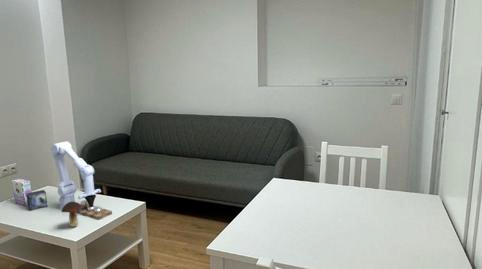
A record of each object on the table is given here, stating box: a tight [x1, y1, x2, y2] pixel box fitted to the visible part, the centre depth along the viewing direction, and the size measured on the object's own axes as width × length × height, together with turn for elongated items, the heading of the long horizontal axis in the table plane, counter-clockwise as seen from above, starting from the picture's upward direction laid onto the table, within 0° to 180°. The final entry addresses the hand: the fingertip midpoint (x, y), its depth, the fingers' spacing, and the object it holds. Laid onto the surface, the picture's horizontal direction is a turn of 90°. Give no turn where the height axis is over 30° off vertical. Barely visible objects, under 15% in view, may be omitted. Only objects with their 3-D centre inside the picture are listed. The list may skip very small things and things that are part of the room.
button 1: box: [80, 199, 89, 208], centre depth 223 cm, size 4×4×4 cm
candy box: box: [11, 178, 33, 207], centre depth 241 cm, size 14×6×16 cm, turn 58°
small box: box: [26, 189, 49, 212], centre depth 232 cm, size 11×6×10 cm, turn 131°
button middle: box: [87, 204, 96, 211], centre depth 221 cm, size 4×4×4 cm
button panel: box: [75, 204, 113, 221], centre depth 221 cm, size 26×10×2 cm, turn 58°
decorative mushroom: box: [61, 201, 83, 228], centre depth 200 cm, size 11×11×15 cm
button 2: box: [94, 206, 102, 213], centre depth 217 cm, size 4×4×4 cm
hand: (91, 206), depth 220 cm, fingers closed
